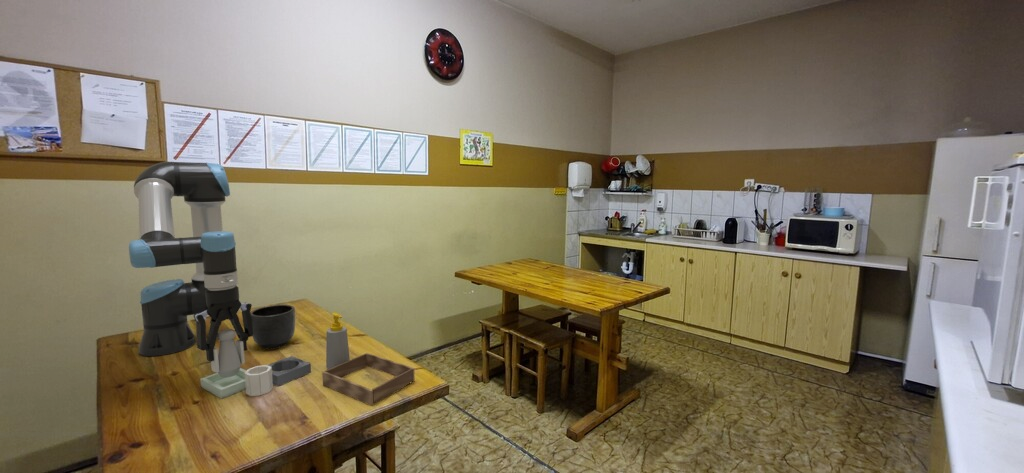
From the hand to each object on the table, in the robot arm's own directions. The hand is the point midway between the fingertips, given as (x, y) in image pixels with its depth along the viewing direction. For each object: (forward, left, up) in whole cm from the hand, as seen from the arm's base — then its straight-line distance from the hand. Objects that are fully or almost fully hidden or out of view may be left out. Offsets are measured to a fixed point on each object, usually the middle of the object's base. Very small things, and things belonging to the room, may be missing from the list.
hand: (228, 366), depth 114 cm
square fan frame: (+7, +12, -6) cm, 15 cm away
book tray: (+32, +22, -6) cm, 40 cm away
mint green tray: (0, 0, -6) cm, 6 cm away
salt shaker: (0, 0, -3) cm, 3 cm away
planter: (-19, +23, -6) cm, 30 cm away
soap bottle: (+17, +23, -6) cm, 29 cm away
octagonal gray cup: (+10, +3, -6) cm, 12 cm away
